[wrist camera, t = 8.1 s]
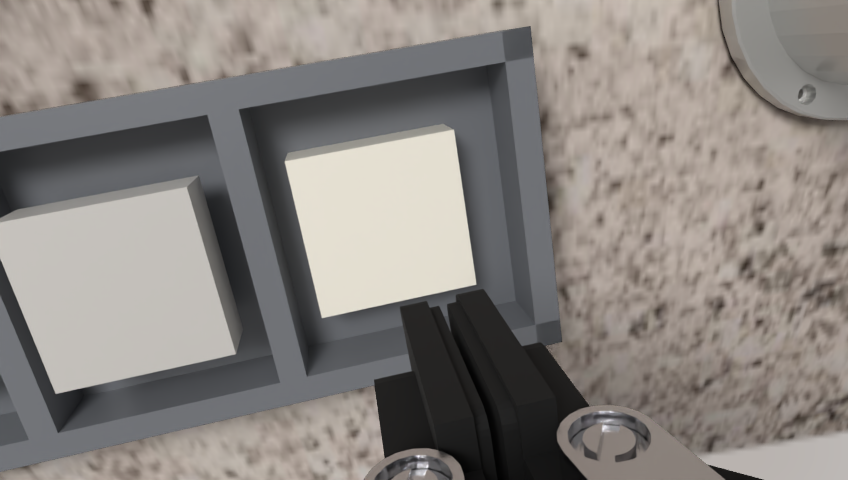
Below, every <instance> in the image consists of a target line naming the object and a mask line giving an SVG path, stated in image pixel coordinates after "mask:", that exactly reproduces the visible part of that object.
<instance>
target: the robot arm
mask: <svg viewBox="0 0 848 480" xmlns="http://www.w3.org/2000/svg"><path fill="white" fill-rule="evenodd" d="M719 7H720V15H721V22H722V30H723V33H724V36H725V39H726V42H727V45H728V48H729V51H730V54H731V56H732V58H733V60H734V62H735V63H736V65H737V67H738V69H739V70H740V72H741V74H742V76H743V78H744V79H745V80H746V81H747V82H748V83H749V84H750V85H751V86H752V87H753V89H754V90H755V91H756V92H757V93H758V94H759V95H760V96H761V97H763V98H764V99H766V100H767V101H769V102H770V103H772V104H773V105H775V106H776V107H777V108H779V109H782V110H785V111H787V112H790V113H793V114H795V115H798V116H803V117H810V118H816V119H823V120H848V0H719ZM447 311H448V317H449V323H450V329H451V331H450V329H449V327H448V325H447V322H446V320H445V318H444V316H443V313H442V311H441V309H440V307H439V306H435V307H429V305H428V302H427V301H424V302H419V303H414V304H410V305H405V306H400V313H401V318H402V323H403V329H404V334H405V339H406V344H407V349H408V354H409V360H410V365H411V370H412V371H410V372H405V373H401V374H396V375H392V376H387V377H383V378H379V379H374V385H375V392H376V399H377V406H378V413H379V420H380V427H381V435H382V442H383V449H384V456H385V459H383V460H382V461H380V462H379V463H378V464H377V465H375V466H374V467H373V468H372V469H371V470H370V471H369V473H368V474H367V475H366V477H365V478H364V480H762V479H759V478H755V477H752V476H748V475H744V474H740V473H737V472H733V471H729V470H726V469H722V468H718V467H714V466H711V465H707V464H706V463H704V462H703V461H702V460H701V459H700V458H698V457H697V456H696V455H695V454H694V453H692V452H691V451H690V450H689V449H688V448H686V447H685V446H684V445H683V444H682V443H680V442H679V441H678V440H677V439H675V438H674V437H673V436H672V435H671V434H669V433H668V432H667V431H666V430H665V429H663V428H662V427H661V426H660V425H659V424H657V423H656V422H655V421H654V420H653V419H651V418H649V417H648V416H646V415H645V414H643V413H641V412H639V411H636V410H634V409H631V408H628V407H623V406H616V405H595V406H589V405H588V404H587V402H586V401H585V399H584V398H583V397H582V395H581V394H580V393H579V391H578V390H577V389H576V387H575V386H574V385H573V383H572V382H571V381H570V379H569V378H568V377H567V375H566V374H565V373H564V371H563V370H562V369H561V367H560V366H559V365H558V363H557V362H556V361H555V359H554V358H553V356H552V355H551V354H550V352H549V351H548V350H547V348H546V347H545V346H544V345H543V344H542V343H541V342H538V343H534V344H529V345H525V346H521V344H520V343H519V341H518V340H517V338H516V337H515V335H514V334H513V332H512V331H511V329H510V328H509V326H508V325H507V323H506V322H505V320H504V319H503V317H502V316H501V314H500V313H499V311H498V310H497V308H496V307H495V305H494V304H493V302H492V301H491V299H490V298H489V296H488V295H487V293H486V292H485V290H484V289H479V290H475V291H470V292H465V293H461V294H457V295H456V302H454V303H449V304H447Z"/></svg>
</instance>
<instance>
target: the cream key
mask: <svg viewBox="0 0 848 480" xmlns="http://www.w3.org/2000/svg"><path fill="white" fill-rule="evenodd" d="M285 165H286V169H287V174H288V178H289V182H290V186H291V190H292V195H293V199H294V203H295V207H296V211H297V216H298V220H299V224H300V228H301V232H302V237H303V241H304V245H305V249H306V253H307V258H308V262H309V266H310V270H311V274H312V279H313V283H314V287H315V291H316V295H317V300H318V304H319V308H320V312H321V317H322V318H325V317H330V316H334V315H339V314H344V313H348V312H353V311H357V310H362V309H367V308H371V307H376V306H380V305H385V304H390V303H394V302H399V301H403V300H408V299H413V298H417V297H422V296H426V295H431V294H436V293H440V292H445V291H449V290H454V289H459V288H463V287H468V286H472V285H476V278H475V271H474V264H473V257H472V250H471V243H470V236H469V229H468V223H467V216H466V209H465V202H464V195H463V188H462V181H461V174H460V168H459V161H458V154H457V147H456V140H455V133H454V129H452V128H450V127H448V126H446V125H444V124H439V125H434V126H429V127H423V128H418V129H413V130H407V131H402V132H397V133H391V134H386V135H380V136H375V137H370V138H364V139H359V140H354V141H348V142H343V143H338V144H332V145H327V146H322V147H316V148H311V149H306V150H300V151H295V152H289V153H287V156H286V159H285Z"/></svg>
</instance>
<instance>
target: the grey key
mask: <svg viewBox="0 0 848 480" xmlns="http://www.w3.org/2000/svg"><path fill="white" fill-rule="evenodd" d="M0 259H1V262H2V264H3V267H4V269H5V271H6V274H7V276H8V279H9V281H10V284H11V286H12V289H13V291H14V293H15V296H16V298H17V301H18V303H19V306H20V308H21V310H22V313H23V315H24V318H25V320H26V323H27V325H28V328H29V330H30V332H31V335H32V337H33V340H34V342H35V345H36V347H37V349H38V352H39V354H40V357H41V359H42V362H43V364H44V367H45V369H46V371H47V374H48V376H49V379H50V381H51V384H52V386H53V388H54V391H55V393H56V394H58V393H62V392H67V391H71V390H76V389H81V388H85V387H90V386H94V385H99V384H103V383H108V382H112V381H117V380H121V379H126V378H130V377H135V376H140V375H144V374H149V373H153V372H158V371H162V370H167V369H171V368H176V367H180V366H185V365H190V364H194V363H199V362H203V361H208V360H212V359H217V358H221V357H226V356H230V355H235V354H236V352H237V349H238V345H239V342H240V338H241V335H242V331H243V328H242V324H241V321H240V317H239V314H238V310H237V307H236V303H235V300H234V296H233V293H232V289H231V286H230V282H229V279H228V275H227V272H226V268H225V265H224V261H223V258H222V254H221V251H220V247H219V244H218V240H217V237H216V233H215V230H214V226H213V223H212V219H211V216H210V212H209V209H208V205H207V202H206V198H205V195H204V191H203V188H202V184H201V181H200V177H199V175H198V176H193V177H187V178H182V179H177V180H171V181H166V182H161V183H155V184H150V185H145V186H139V187H134V188H129V189H123V190H118V191H113V192H107V193H102V194H97V195H91V196H86V197H81V198H75V199H70V200H65V201H59V202H54V203H49V204H43V205H38V206H33V207H27V208H22V209H17V210H15V211H13V212H11V213H9V214H7V215H5V216H3V217H1V218H0Z"/></svg>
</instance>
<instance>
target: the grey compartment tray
mask: <svg viewBox="0 0 848 480" xmlns="http://www.w3.org/2000/svg"><path fill="white" fill-rule="evenodd" d="M439 124H444V125H446V126H448V127H450V128H452V129H454V133H455V140H456V147H457V154H458V161H459V168H460V174H461V181H462V188H463V195H464V202H465V209H466V216H467V223H468V229H469V236H470V243H471V250H472V257H473V264H474V271H475V278H476V285H472V286H468V287H463V288H459V289H454V290H449V291H445V292H440V293H436V294H431V295H426V296H422V297H417V298H413V299H408V300H403V301H399V302H394V303H390V304H385V305H380V306H376V307H371V308H367V309H362V310H357V311H353V312H348V313H344V314H339V315H334V316H330V317H325V318H322V317H321V312H320V308H319V304H318V300H317V295H316V291H315V287H314V283H313V279H312V274H311V270H310V266H309V262H308V258H307V253H306V249H305V245H304V241H303V237H302V232H301V228H300V224H299V220H298V216H297V211H296V207H295V203H294V199H293V195H292V190H291V186H290V182H289V178H288V174H287V169H286V165H285V159H286V156H287V153H289V152H295V151H300V150H306V149H311V148H316V147H322V146H327V145H332V144H338V143H343V142H348V141H354V140H359V139H364V138H370V137H375V136H380V135H386V134H391V133H397V132H402V131H407V130H413V129H418V128H423V127H429V126H434V125H439ZM198 175H199V177H200V181H201V184H202V188H203V191H204V195H205V198H206V202H207V205H208V209H209V212H210V216H211V219H212V223H213V226H214V230H215V233H216V237H217V240H218V244H219V247H220V251H221V254H222V258H223V261H224V265H225V268H226V272H227V275H228V279H229V282H230V286H231V289H232V293H233V296H234V300H235V303H236V307H237V310H238V314H239V317H240V321H241V324H242V328H243V331H242V335H241V338H240V342H239V345H238V349H237V352H236V354H235V355H230V356H226V357H221V358H217V359H212V360H208V361H203V362H199V363H194V364H190V365H185V366H180V367H176V368H171V369H167V370H162V371H158V372H153V373H149V374H144V375H140V376H135V377H130V378H126V379H121V380H117V381H112V382H108V383H103V384H99V385H94V386H90V387H85V388H81V389H76V390H71V391H67V392H62V393H58V394H56V393H55V391H54V388H53V386H52V384H51V381H50V379H49V376H48V374H47V371H46V369H45V367H44V364H43V362H42V359H41V357H40V354H39V352H38V349H37V347H36V345H35V342H34V340H33V337H32V335H31V332H30V330H29V328H28V325H27V323H26V320H25V318H24V315H23V313H22V310H21V308H20V306H19V303H18V301H17V298H16V296H15V293H14V291H13V289H12V286H11V284H10V281H9V279H8V276H7V274H6V271H5V269H4V267H3V264H2V262H1V259H0V375H1V376H0V472H1V471H6V470H10V469H14V468H19V467H23V466H27V465H32V464H36V463H40V462H45V461H49V460H53V459H58V458H62V457H66V456H70V455H75V454H79V453H83V452H88V451H92V450H96V449H101V448H105V447H109V446H114V445H118V444H122V443H127V442H131V441H135V440H140V439H144V438H148V437H153V436H157V435H161V434H166V433H170V432H174V431H179V430H183V429H187V428H192V427H196V426H200V425H205V424H209V423H213V422H218V421H222V420H226V419H230V418H235V417H239V416H243V415H248V414H252V413H256V412H261V411H265V410H269V409H274V408H278V407H282V406H287V405H291V404H295V403H300V402H304V401H308V400H313V399H317V398H321V397H326V396H330V395H334V394H339V393H343V392H347V391H352V390H356V389H360V388H365V387H369V386H373V385H374V379H379V378H383V377H387V376H392V375H396V374H401V373H405V372H410V371H412V370H411V365H410V360H409V354H408V349H407V344H406V339H405V334H404V329H403V323H402V318H401V313H400V306H405V305H410V304H414V303H419V302H424V301H427V302H428V305H429V307H435V306H439V307H440V309H441V311H442V313H443V316H444V318H445V320H446V322H447V325H448V327H449V329H450V323H449V317H448V311H447V304H449V303H454V302H456V295H457V294H461V293H465V292H470V291H475V290H479V289H484V290H485V292H486V293H487V295H488V296H489V298H490V299H491V301H492V302H493V304H494V305H495V307H496V308H497V310H498V311H499V313H500V314H501V316H502V317H503V319H504V320H505V322H506V323H507V325H508V326H509V328H510V329H511V331H512V332H513V334H514V335H515V337H516V338H517V340H518V341H519V343H520V344H521V346H525V345H529V344H534V343H538V342H541V343H542V344H543V345H544V346H546V345H551V344H555V343H559V342H562V337H561V327H560V317H559V307H558V297H557V287H556V277H555V267H554V257H553V247H552V237H551V227H550V217H549V207H548V197H547V187H546V177H545V167H544V157H543V147H542V137H541V127H540V117H539V107H538V97H537V87H536V77H535V67H534V57H533V47H532V37H531V27H530V26H529V27H522V28H515V29H509V30H502V31H496V32H490V33H484V34H478V35H472V36H466V37H461V38H455V39H449V40H443V41H437V42H431V43H426V44H420V45H414V46H408V47H402V48H396V49H391V50H385V51H379V52H373V53H367V54H362V55H356V56H350V57H344V58H338V59H332V60H327V61H321V62H315V63H309V64H303V65H297V66H292V67H286V68H280V69H274V70H268V71H262V72H257V73H251V74H245V75H239V76H233V77H227V78H222V79H216V80H210V81H204V82H198V83H192V84H187V85H181V86H175V87H169V88H163V89H157V90H152V91H146V92H140V93H134V94H128V95H123V96H117V97H111V98H105V99H99V100H93V101H88V102H82V103H76V104H70V105H64V106H58V107H53V108H47V109H41V110H35V111H29V112H23V113H18V114H12V115H6V116H0V218H1V217H3V216H5V215H7V214H9V213H11V212H13V211H15V210H17V209H22V208H27V207H33V206H38V205H43V204H49V203H54V202H59V201H65V200H70V199H75V198H81V197H86V196H91V195H97V194H102V193H107V192H113V191H118V190H123V189H129V188H134V187H139V186H145V185H150V184H155V183H161V182H166V181H171V180H177V179H182V178H187V177H193V176H198ZM450 331H451V329H450Z"/></svg>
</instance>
